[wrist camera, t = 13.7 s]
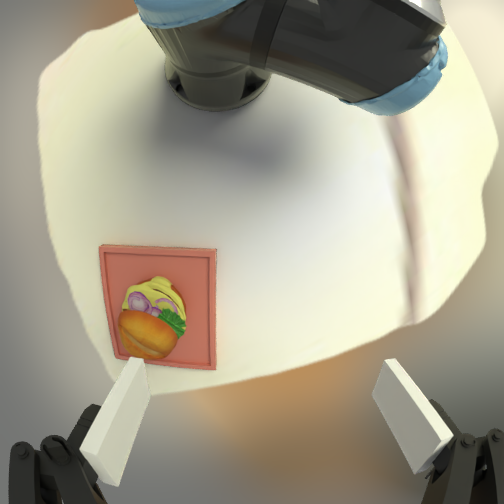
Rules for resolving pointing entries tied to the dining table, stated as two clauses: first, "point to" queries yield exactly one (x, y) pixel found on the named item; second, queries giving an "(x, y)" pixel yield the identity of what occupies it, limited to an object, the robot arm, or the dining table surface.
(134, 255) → the tray
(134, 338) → the cheeseburger
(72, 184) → the dining table surface
